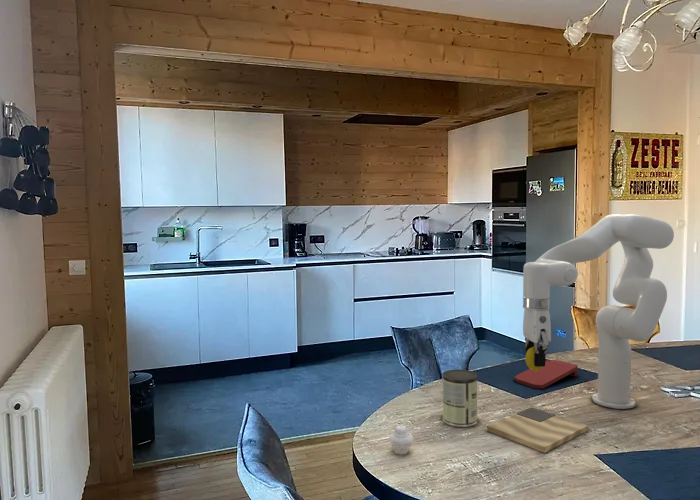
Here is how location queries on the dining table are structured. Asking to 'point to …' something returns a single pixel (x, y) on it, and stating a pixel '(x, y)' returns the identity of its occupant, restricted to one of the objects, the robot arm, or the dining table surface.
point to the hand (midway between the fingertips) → (535, 362)
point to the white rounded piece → (401, 440)
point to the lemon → (531, 359)
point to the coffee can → (460, 398)
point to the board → (537, 429)
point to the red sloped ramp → (547, 374)
